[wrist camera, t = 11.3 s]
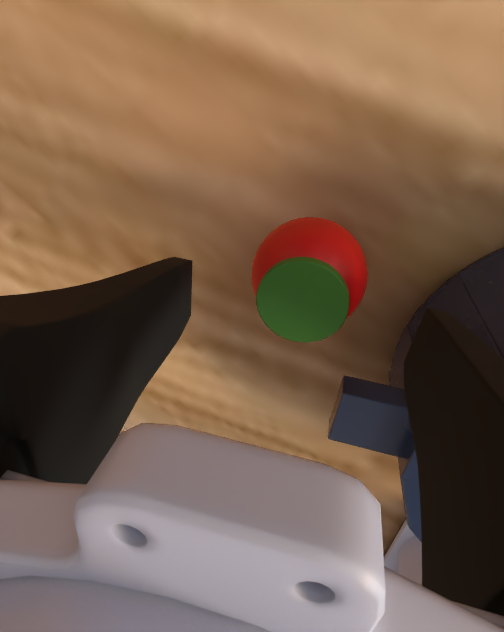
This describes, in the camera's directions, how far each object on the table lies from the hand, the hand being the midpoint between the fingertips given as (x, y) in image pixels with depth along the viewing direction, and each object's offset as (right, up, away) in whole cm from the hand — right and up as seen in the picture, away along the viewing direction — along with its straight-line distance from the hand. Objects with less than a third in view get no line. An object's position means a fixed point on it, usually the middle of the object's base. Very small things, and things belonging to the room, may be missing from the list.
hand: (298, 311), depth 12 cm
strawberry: (+1, +3, +5) cm, 6 cm away
